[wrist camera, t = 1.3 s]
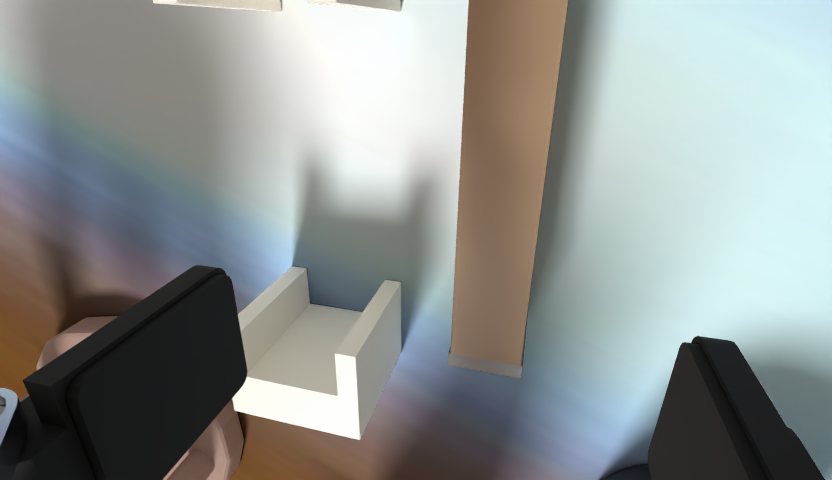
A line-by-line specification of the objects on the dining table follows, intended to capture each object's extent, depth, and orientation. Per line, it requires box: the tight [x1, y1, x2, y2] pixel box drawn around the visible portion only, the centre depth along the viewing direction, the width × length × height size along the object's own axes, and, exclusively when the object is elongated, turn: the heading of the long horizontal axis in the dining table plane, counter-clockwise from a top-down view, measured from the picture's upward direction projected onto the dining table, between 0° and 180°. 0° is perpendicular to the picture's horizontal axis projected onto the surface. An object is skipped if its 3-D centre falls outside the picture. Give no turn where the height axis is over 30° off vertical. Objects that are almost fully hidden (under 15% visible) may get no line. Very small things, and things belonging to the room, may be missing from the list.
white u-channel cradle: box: [153, 0, 401, 440], centre depth 21 cm, size 7×24×7 cm, turn 0°
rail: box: [448, 0, 568, 379], centre depth 20 cm, size 3×16×5 cm, turn 0°
